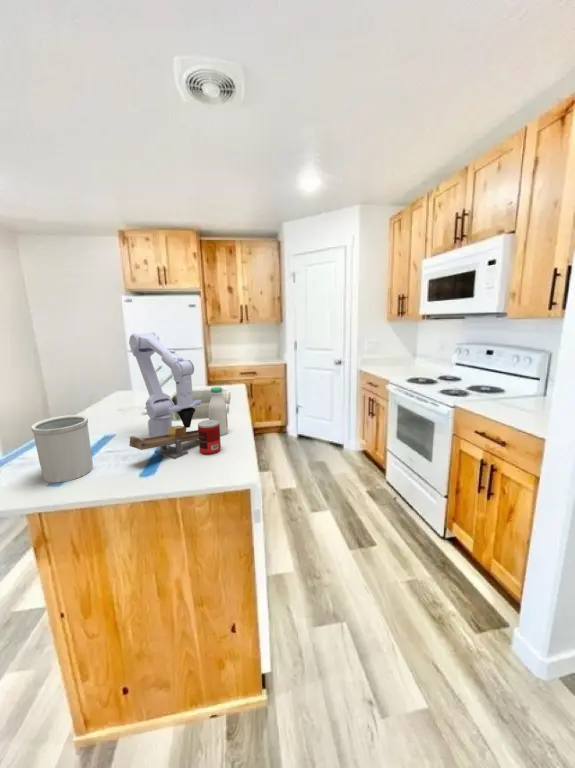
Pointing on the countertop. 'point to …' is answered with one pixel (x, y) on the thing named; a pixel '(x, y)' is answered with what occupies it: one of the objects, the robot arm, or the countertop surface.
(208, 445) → the canned food
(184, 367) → the robot arm
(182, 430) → the block
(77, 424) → the utensil holder
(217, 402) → the milk bottle
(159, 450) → the stand
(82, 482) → the countertop surface
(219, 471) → the countertop surface
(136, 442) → the beam
